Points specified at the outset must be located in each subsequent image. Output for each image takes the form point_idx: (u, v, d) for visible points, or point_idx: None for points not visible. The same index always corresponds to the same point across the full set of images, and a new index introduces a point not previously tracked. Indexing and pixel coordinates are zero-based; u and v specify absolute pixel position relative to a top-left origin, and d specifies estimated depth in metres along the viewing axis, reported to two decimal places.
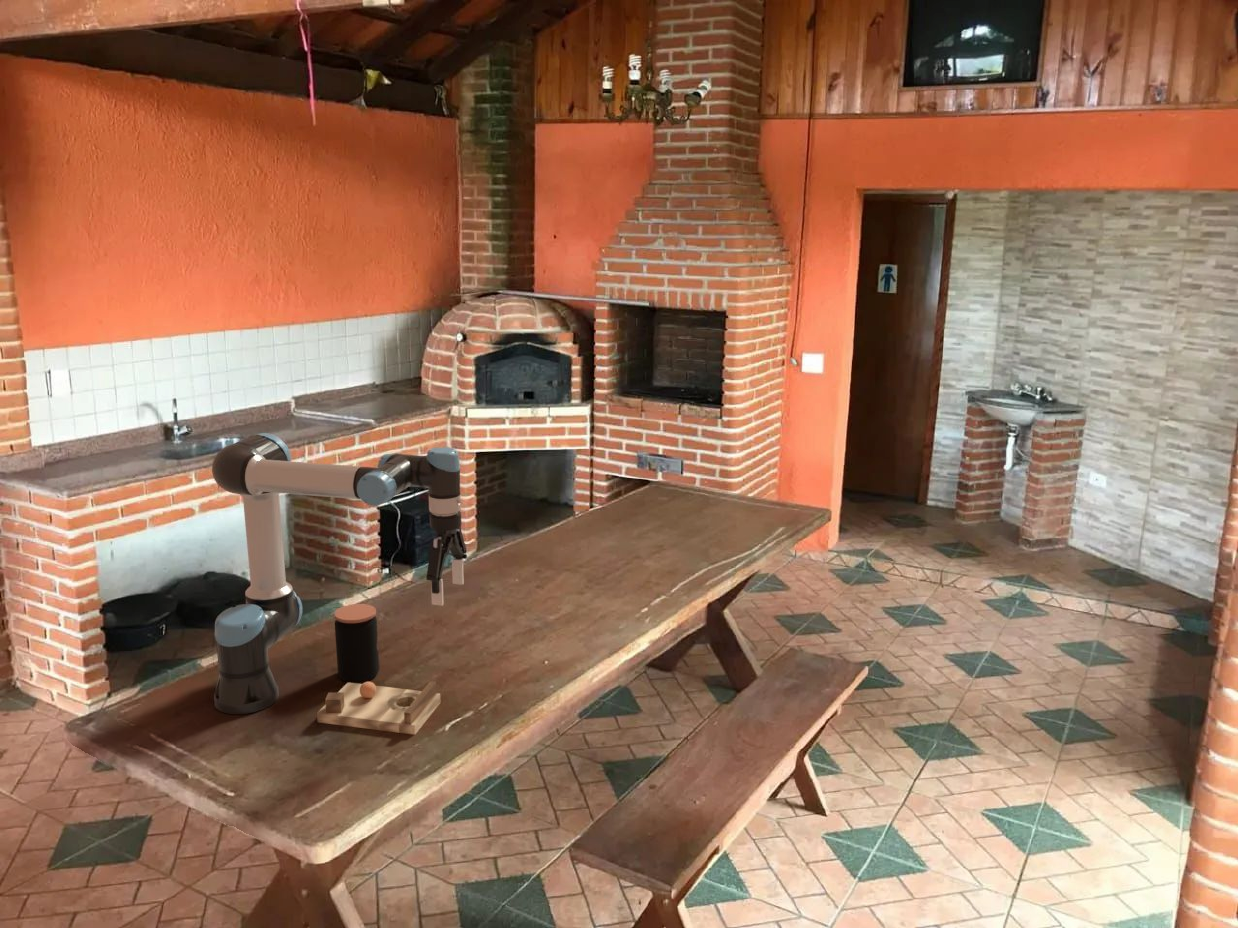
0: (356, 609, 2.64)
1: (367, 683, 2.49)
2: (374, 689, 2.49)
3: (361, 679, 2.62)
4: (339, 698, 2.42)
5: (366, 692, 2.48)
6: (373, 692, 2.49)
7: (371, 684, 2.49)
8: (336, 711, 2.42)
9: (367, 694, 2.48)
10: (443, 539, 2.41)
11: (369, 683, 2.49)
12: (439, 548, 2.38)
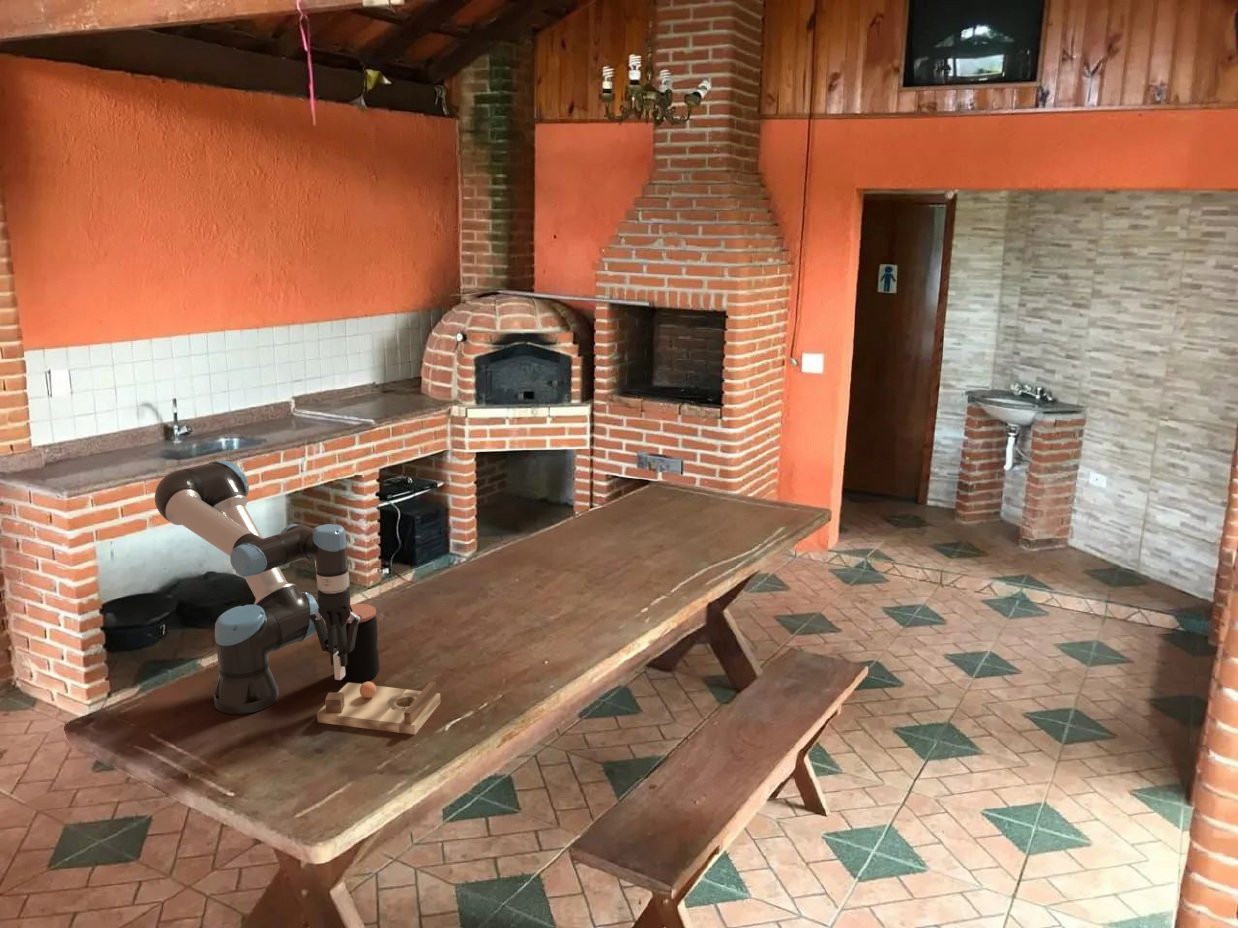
0: (356, 609, 2.64)
1: (367, 683, 2.49)
2: (374, 689, 2.49)
3: (361, 679, 2.62)
4: (339, 698, 2.42)
5: (366, 692, 2.48)
6: (373, 692, 2.49)
7: (371, 684, 2.49)
8: (336, 711, 2.42)
9: (367, 694, 2.48)
10: (319, 612, 2.46)
11: (369, 683, 2.49)
12: (314, 622, 2.47)
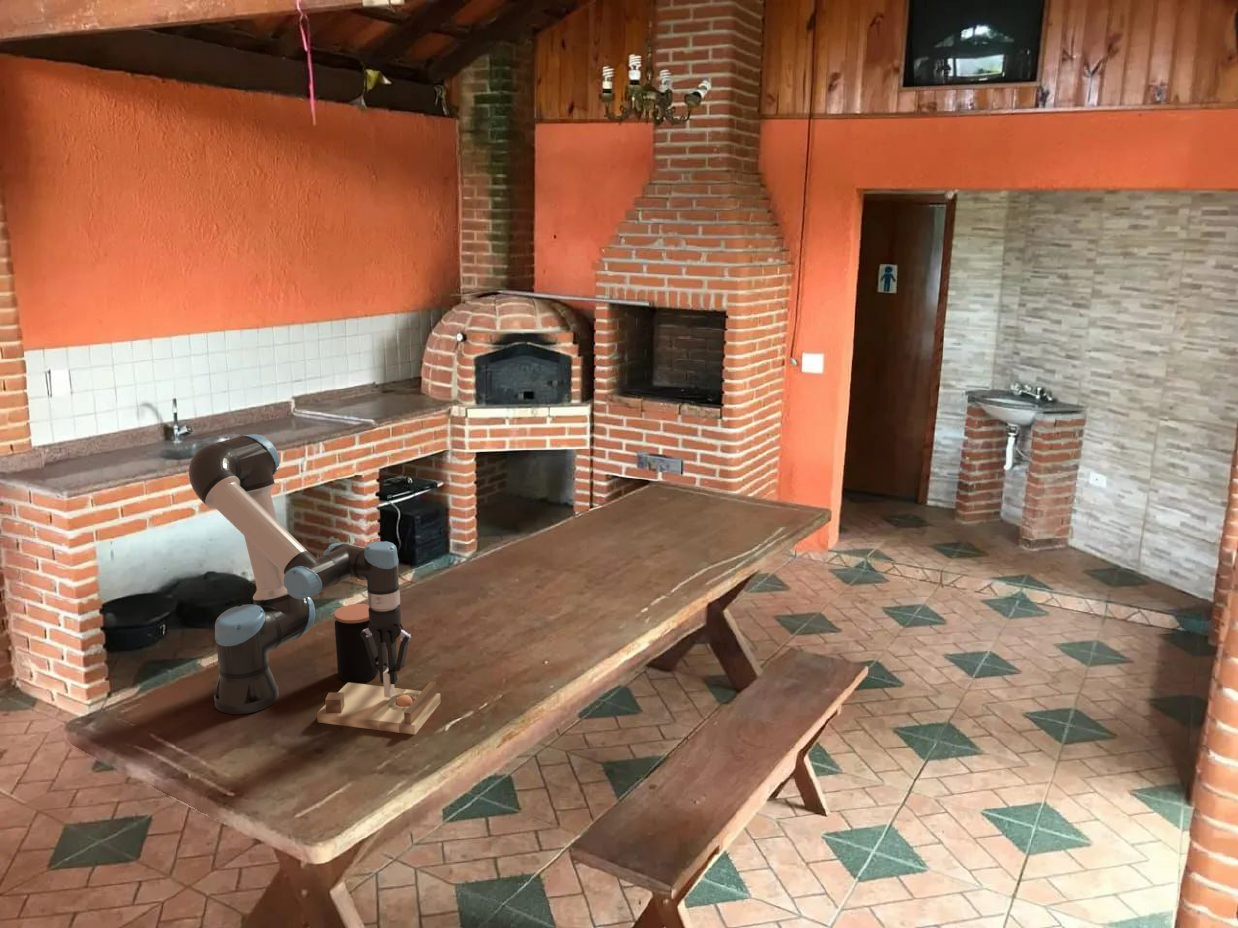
0: (356, 609, 2.64)
1: (398, 698, 2.49)
2: (406, 696, 2.48)
3: (361, 679, 2.62)
4: (339, 698, 2.42)
5: (400, 703, 2.47)
6: (407, 699, 2.48)
7: (401, 696, 2.49)
8: (336, 711, 2.42)
9: (403, 704, 2.47)
10: (369, 629, 2.44)
11: (399, 697, 2.49)
12: (364, 640, 2.45)
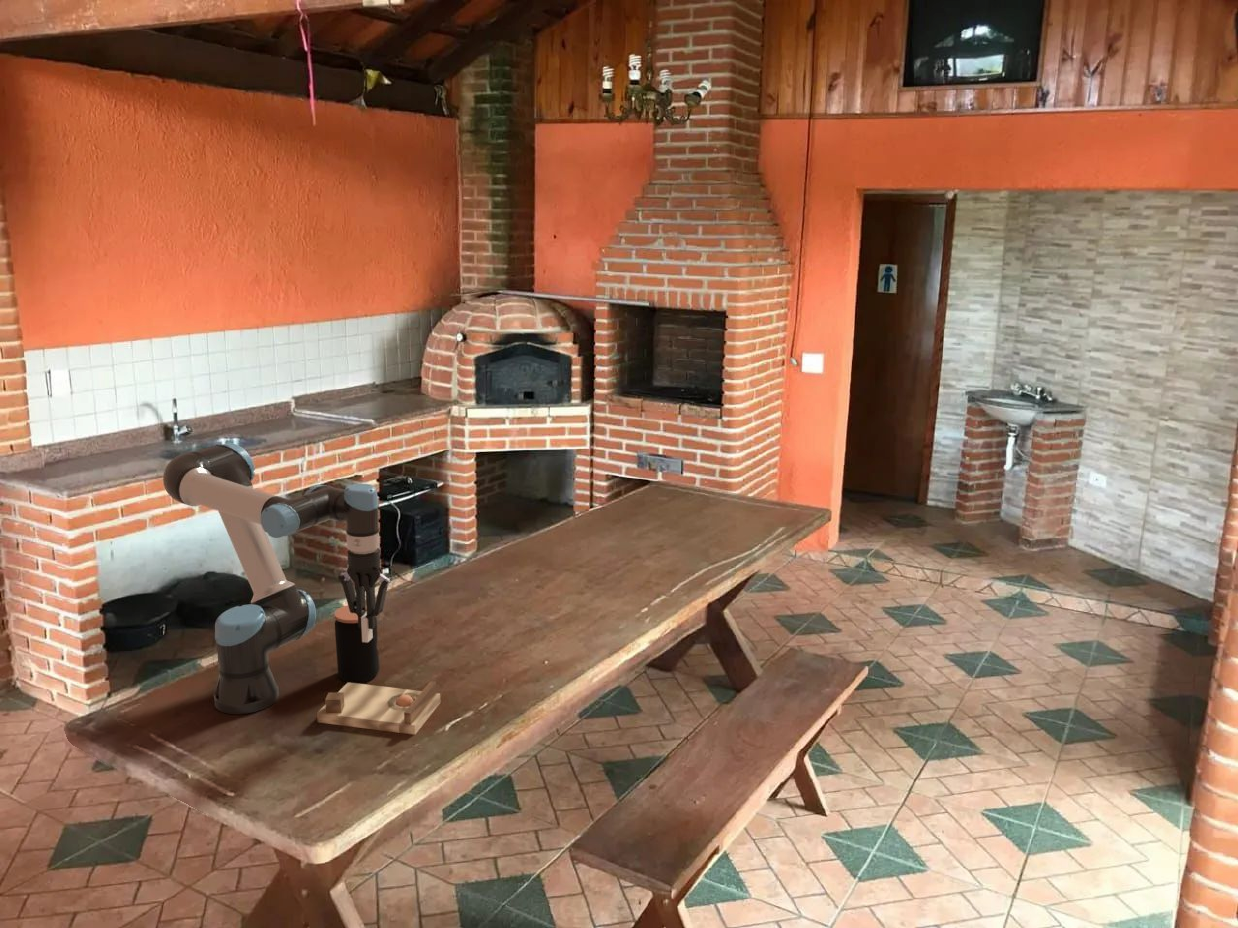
0: None
1: (399, 697, 2.49)
2: (407, 696, 2.48)
3: (361, 679, 2.62)
4: (339, 698, 2.42)
5: (402, 703, 2.47)
6: (408, 699, 2.48)
7: (402, 695, 2.49)
8: (336, 711, 2.42)
9: (404, 704, 2.47)
10: (347, 573, 2.42)
11: None
12: None
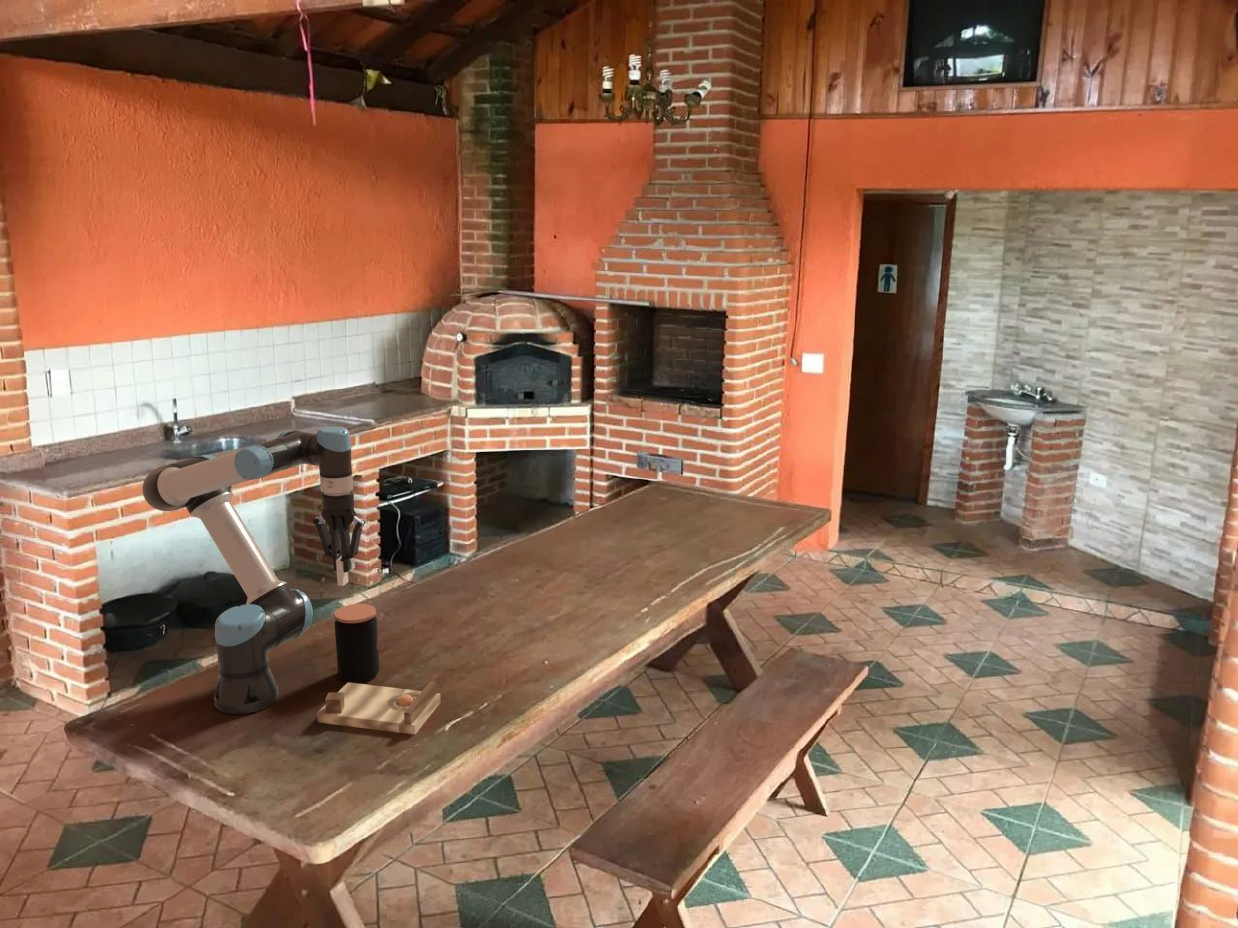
0: (356, 609, 2.64)
1: (400, 697, 2.49)
2: (409, 696, 2.48)
3: (361, 679, 2.62)
4: (339, 698, 2.42)
5: (402, 702, 2.47)
6: (409, 699, 2.48)
7: (403, 695, 2.49)
8: (336, 711, 2.42)
9: (405, 703, 2.47)
10: (322, 516, 2.44)
11: None
12: (317, 527, 2.45)
